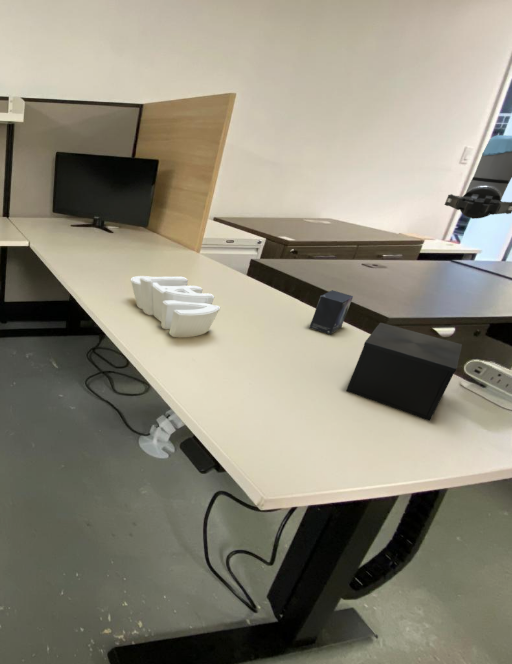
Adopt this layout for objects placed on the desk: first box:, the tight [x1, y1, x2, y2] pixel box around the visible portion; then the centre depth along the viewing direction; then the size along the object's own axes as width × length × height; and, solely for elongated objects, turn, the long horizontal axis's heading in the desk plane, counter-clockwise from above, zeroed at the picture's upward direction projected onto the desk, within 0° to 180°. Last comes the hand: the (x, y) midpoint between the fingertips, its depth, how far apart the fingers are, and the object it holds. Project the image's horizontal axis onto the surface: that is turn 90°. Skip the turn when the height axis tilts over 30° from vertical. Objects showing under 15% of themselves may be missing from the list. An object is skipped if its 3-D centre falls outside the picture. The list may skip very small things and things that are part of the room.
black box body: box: [345, 344, 455, 422], centre depth 104 cm, size 17×16×12 cm
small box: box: [308, 289, 354, 336], centre depth 139 cm, size 11×6×10 cm, turn 134°
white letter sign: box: [130, 275, 221, 338], centre depth 136 cm, size 35×16×11 cm, turn 11°
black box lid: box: [363, 322, 463, 373], centre depth 101 cm, size 18×16×1 cm
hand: (475, 208), depth 101 cm, fingers closed
